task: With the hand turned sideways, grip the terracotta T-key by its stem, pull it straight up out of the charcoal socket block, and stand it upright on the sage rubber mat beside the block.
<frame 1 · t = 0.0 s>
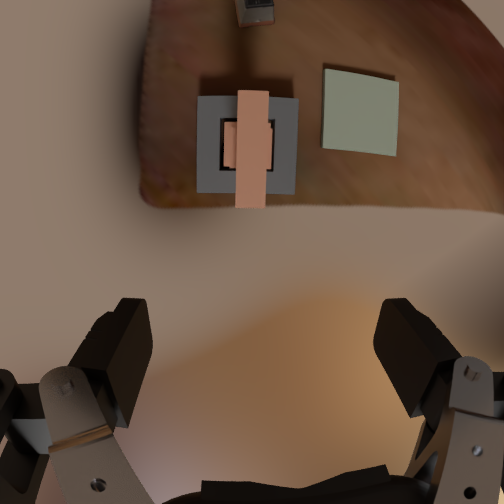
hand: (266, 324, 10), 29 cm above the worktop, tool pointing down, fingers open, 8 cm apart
mat: (360, 113, 34), on the worktop
socket block: (246, 143, 36), on the worktop
t key: (248, 145, 28), in the socket block
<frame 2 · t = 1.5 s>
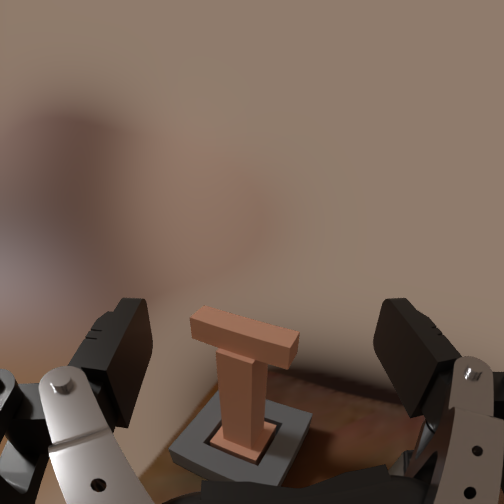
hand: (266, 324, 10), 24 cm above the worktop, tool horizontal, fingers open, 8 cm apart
electronic device: (421, 492, 21), on the worktop
socket block: (244, 448, 29), on the worktop
t key: (243, 400, 25), in the socket block
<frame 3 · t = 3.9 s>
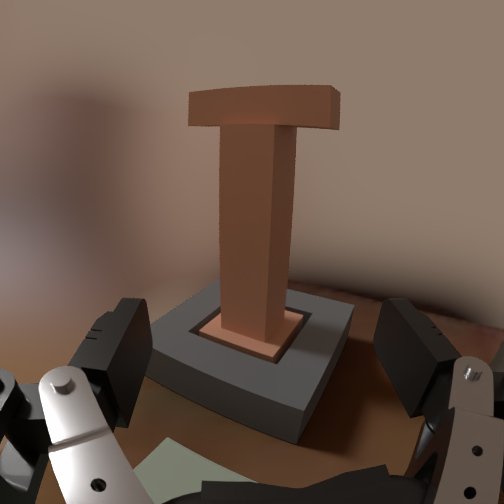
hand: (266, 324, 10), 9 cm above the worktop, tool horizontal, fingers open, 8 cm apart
socket block: (252, 358, 21), on the worktop
t key: (256, 241, 18), in the socket block
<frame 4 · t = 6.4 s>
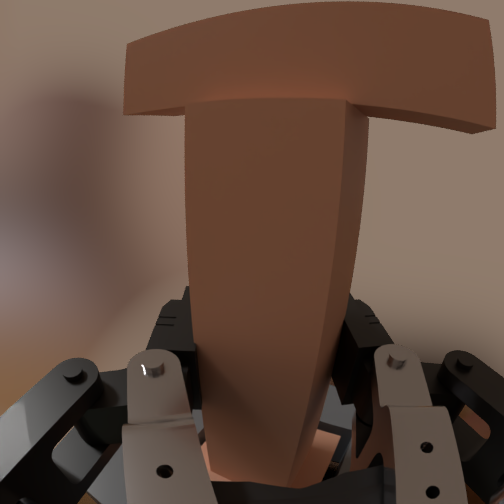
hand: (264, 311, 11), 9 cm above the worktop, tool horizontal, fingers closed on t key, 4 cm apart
socket block: (260, 488, 11), on the worktop
t key: (273, 362, 8), in the socket block, touching gripper
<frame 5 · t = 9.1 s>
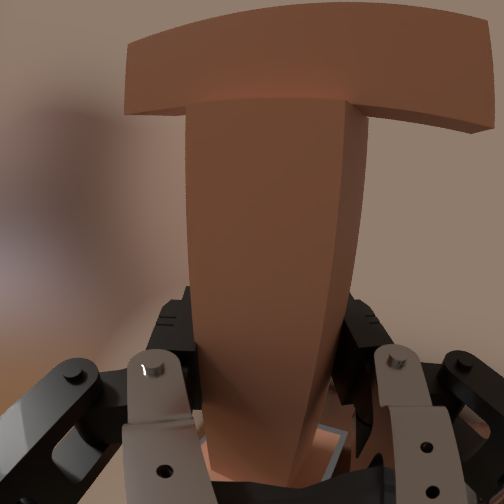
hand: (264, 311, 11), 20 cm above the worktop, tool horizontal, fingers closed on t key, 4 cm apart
socket block: (262, 474, 22), on the worktop
t key: (273, 361, 8), point 20 cm above the worktop, touching gripper
when the fingers open (11 cm above the worktop, at t = 11.7 s): t key drops 1 cm, resting on mat.
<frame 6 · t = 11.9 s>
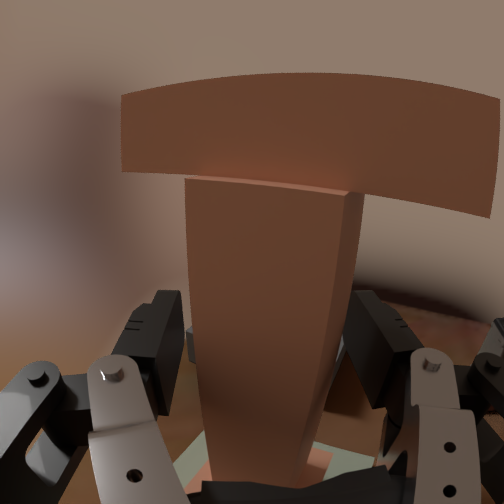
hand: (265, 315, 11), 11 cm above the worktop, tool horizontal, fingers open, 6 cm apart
socket block: (279, 346, 26), on the worktop
t key: (270, 399, 9), on the mat, point 10 cm above the worktop
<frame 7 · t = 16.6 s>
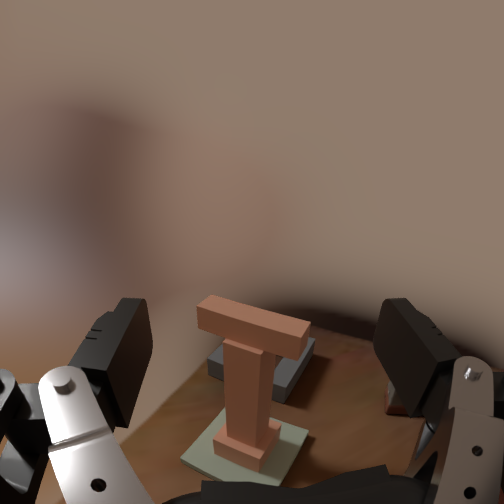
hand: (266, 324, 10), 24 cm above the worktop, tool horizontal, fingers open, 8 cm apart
mat: (246, 451, 28), on the worktop
electronic device: (416, 406, 33), on the worktop
socket block: (263, 365, 42), on the worktop
t key: (249, 396, 25), on the mat, point 10 cm above the worktop
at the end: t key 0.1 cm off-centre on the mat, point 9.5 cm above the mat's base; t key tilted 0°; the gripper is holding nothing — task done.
